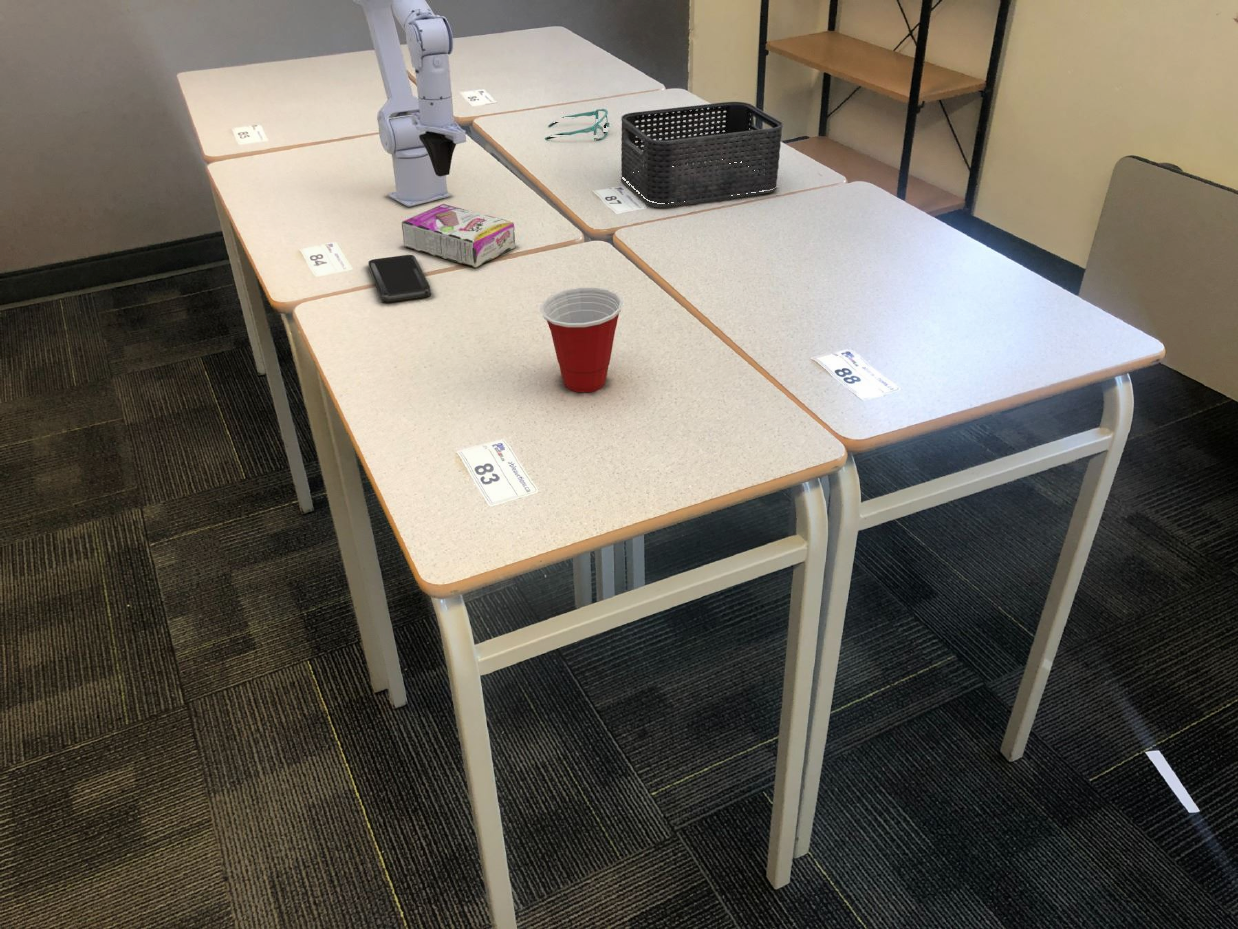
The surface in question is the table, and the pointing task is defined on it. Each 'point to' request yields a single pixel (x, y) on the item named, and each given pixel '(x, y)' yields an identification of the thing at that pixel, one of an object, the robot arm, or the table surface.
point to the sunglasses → (586, 130)
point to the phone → (399, 278)
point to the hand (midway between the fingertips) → (442, 174)
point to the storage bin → (700, 154)
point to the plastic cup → (583, 334)
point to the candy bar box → (459, 235)
